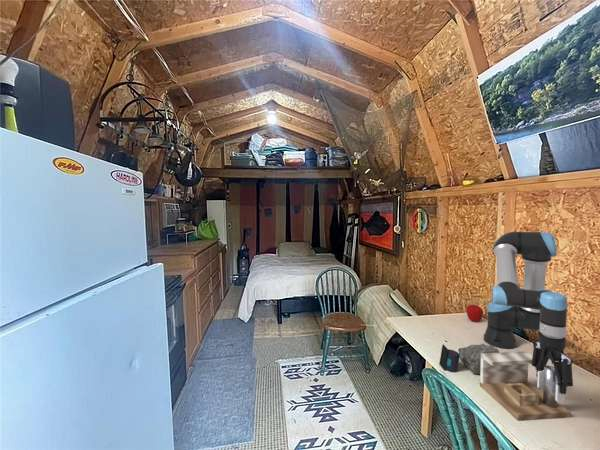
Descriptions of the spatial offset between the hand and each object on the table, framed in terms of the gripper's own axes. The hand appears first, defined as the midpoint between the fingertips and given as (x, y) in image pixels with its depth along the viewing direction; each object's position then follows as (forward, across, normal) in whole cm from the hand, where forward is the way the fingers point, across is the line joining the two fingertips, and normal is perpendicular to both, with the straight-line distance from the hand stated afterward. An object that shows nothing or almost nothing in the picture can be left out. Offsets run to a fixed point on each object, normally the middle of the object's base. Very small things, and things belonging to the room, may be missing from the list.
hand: (550, 393), depth 108 cm
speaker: (+6, -30, -22) cm, 37 cm away
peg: (+4, 0, 0) cm, 4 cm away
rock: (+6, -29, -7) cm, 31 cm away
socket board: (+6, -6, -6) cm, 10 cm away
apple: (+6, -82, +26) cm, 86 cm away
